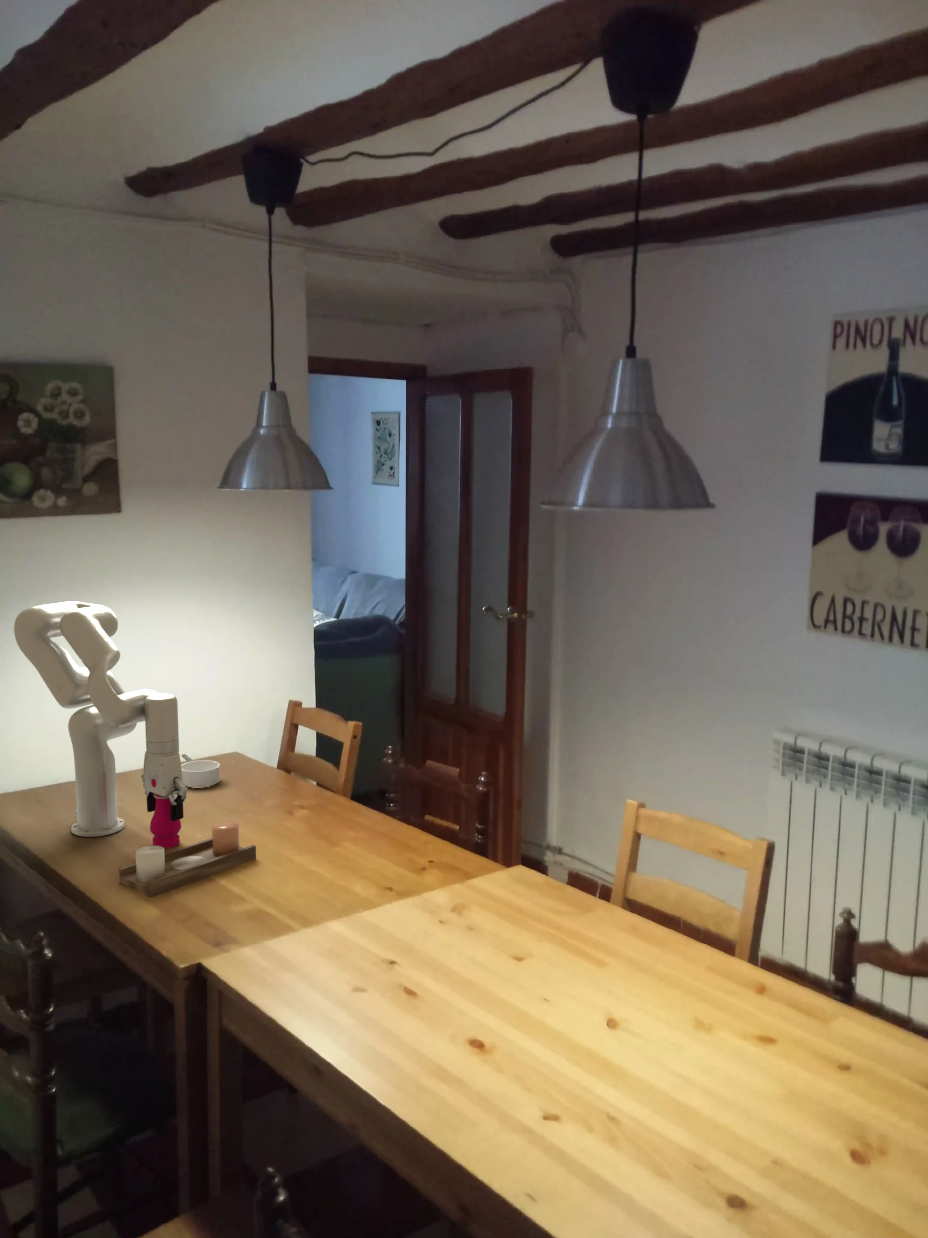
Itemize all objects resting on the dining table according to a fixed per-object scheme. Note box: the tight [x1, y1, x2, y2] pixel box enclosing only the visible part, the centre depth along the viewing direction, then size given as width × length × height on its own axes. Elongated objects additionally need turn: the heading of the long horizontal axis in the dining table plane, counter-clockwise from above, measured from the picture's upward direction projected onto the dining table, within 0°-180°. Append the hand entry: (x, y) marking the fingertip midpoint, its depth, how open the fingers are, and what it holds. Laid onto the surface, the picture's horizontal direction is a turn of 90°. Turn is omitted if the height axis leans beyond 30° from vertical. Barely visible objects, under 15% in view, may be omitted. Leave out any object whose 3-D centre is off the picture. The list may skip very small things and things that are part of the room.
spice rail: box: [118, 837, 257, 898], centre depth 225 cm, size 12×28×3 cm, turn 141°
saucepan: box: [180, 753, 221, 788], centre depth 291 cm, size 12×20×6 cm, turn 34°
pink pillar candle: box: [211, 821, 240, 856], centre depth 233 cm, size 6×6×6 cm
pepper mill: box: [149, 779, 182, 850], centre depth 240 cm, size 7×7×20 cm
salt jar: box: [135, 845, 165, 883], centre depth 217 cm, size 6×6×6 cm
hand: (165, 815), depth 241 cm, fingers open, 9 cm apart
